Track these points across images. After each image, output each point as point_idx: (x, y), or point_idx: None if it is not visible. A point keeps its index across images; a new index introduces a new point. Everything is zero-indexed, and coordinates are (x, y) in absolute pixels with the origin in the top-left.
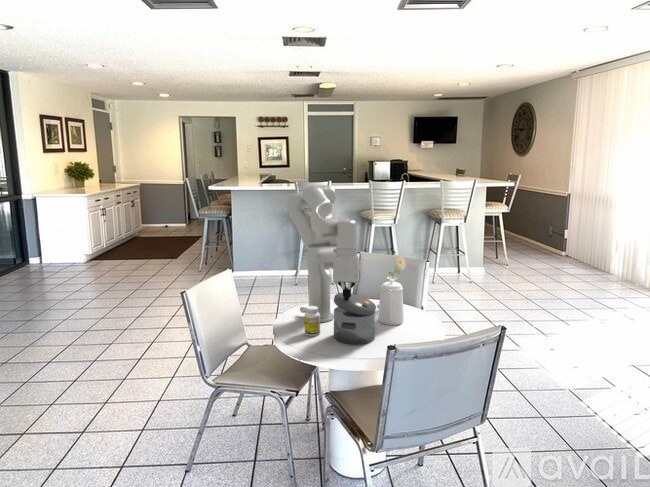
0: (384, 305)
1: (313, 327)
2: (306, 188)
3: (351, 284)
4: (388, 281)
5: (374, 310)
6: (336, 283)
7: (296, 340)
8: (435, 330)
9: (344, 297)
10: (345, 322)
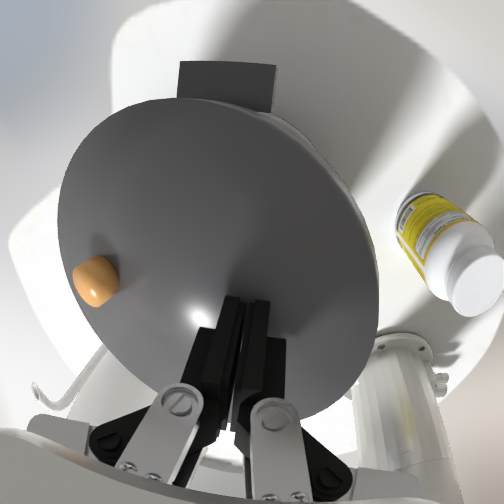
0: (129, 388)
1: (435, 204)
2: None
3: (136, 446)
4: None
5: (62, 231)
6: (376, 474)
7: (474, 145)
8: (31, 294)
9: (263, 312)
10: (250, 106)
